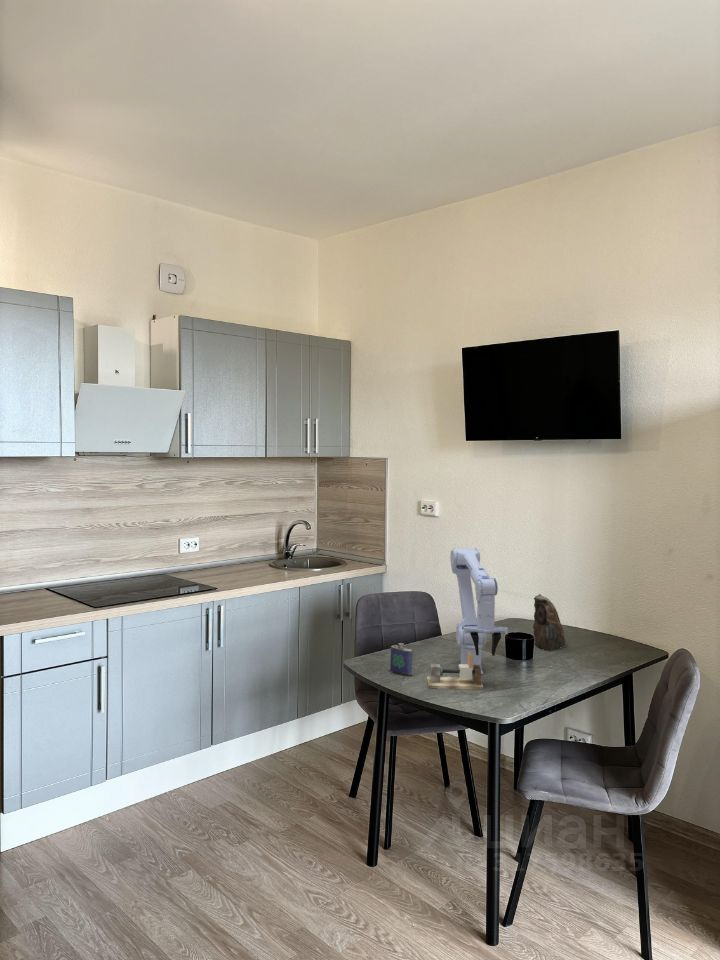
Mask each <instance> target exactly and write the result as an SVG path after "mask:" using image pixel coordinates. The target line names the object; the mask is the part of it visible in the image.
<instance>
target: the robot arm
mask: <svg viewBox="0 0 720 960" xmlns="http://www.w3.org/2000/svg"><path fill="white" fill-rule="evenodd" d="M449 557H450V558H449V559H450V568H451V572H452V574H454V575H456V579H457V580H456V581H457V584H458V593H459V600H460V608H461V616H462V620H460V621H459V622H458V623H457V624H456V629H455V630H456V633H455V637H456V638H455V639H456V643H457V644H458V646H459V647H460V664H468V653H471V654H472V670H473V665H480V668H481V675H484V672H483V669H482V648H483V647H484V646H485V645H486V643H487V640H488V635H487V634H491V643H492V644H491V656H492V657H493V656H496V655H495V654H496V650H497V646H498V644H499V643H500V641H501V639H502V634H503V635H508V634H509V628H508V627H506V626H496V625H495V610H496V609H495V608H496V607H495V604H496V602H495V601H496V596H497V595H498V591H499V587H498V582H497V580H496V578H495V577H491V576H490V575H489V572H488V571H487V570H486V568H485V567H483V566H481V564H480V560H481V552H480V550H479V549H478V548H477V547H475V548H452V549H451V551H450V555H449ZM472 583H474V591H475V599H476V601H477V602H476V603H477V605H476V606H477V607H475V599H474V593H473V587H472V586H473V584H472ZM476 609H477V610H476ZM458 668H459V664H458Z"/></svg>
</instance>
